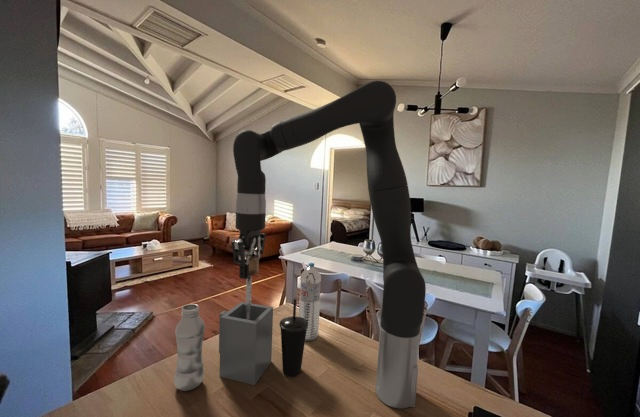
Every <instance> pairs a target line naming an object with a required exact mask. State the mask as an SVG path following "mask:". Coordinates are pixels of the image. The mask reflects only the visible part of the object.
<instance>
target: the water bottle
mask: <svg viewBox="0 0 640 417" xmlns="http://www.w3.org/2000/svg"><path fill="white" fill-rule="evenodd" d="M299 278H300V279H299V280H300V286H299V287H300V289H299V302H298V304H299V305H298V317H302V318H304V319H306V320H307V321H308V327H307V330H306V337H305V342H312V341H316V340H317V339H318V337H319V327H320V326H319V325H320V308H321V282H322V275H321V273H320V272H319V270H318V269H316V268H315V263H314V262H309V263H308V267H307V268H305V269H304V270H303V271H302V273H301V274H300V276H299Z"/></svg>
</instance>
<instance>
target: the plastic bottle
mask: <svg viewBox="0 0 640 417" xmlns="http://www.w3.org/2000/svg"><path fill="white" fill-rule="evenodd" d="M180 313H181V317H182V318H181V319H180V320H179V321H178V323H177V324H176V327H175V331H174V334H175V335H174V336H175V340H176V350H177V351H176V352H177V360H176V367H175V371H174V378H173V381H174V385H175V387H176V389H178V390H179V391H181V392H182V391H183V392H187V391H192V390H194V389H196V388H198V387H199V386H200V385H201V383H202V382H203V380H204V376H205V368H204V364H203V342H204V336H205V331H206V330H205V329H206V324H205V321H204V320H203V319H202V318H201V317H200V306H199V305H198V304H196V303H190V304H185V305H183V306H181V312H180Z"/></svg>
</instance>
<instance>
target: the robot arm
mask: <svg viewBox="0 0 640 417" xmlns="http://www.w3.org/2000/svg"><path fill="white" fill-rule="evenodd" d="M396 104H397V96H396V92H395V89H394V88H393V86H392V85H390V84H389V83H388V82H386V81H384V80H372V81H369V82H366V83H365V84H363V85H361V86H359V87H357V88H355V89H354V90H352V91H350V92H348V93H347V94H345V95H343V96H340V97H339V98H337V99H335V100H333V101H331V102H328V103H327V104H324V105H322V106H321V105H320V106H319V107H317V108H314V109H312V110H310V111H307V112H304V113H301V114H298V115H295V116H292V117H289V118H287V119H283V120H281V121H278V122H276V123H274V124H272V126H271V127H270V129H268V130H266V131H263V132H261V133H258V132H256V131H254V130H251V129H243V130H241V131H240V132H238V133H237V134H236V136H235V138H234V141H233V144H232V145H233V146H232V147H233V148H232V152H233V159H234V166H235V170H236V174H237V187H236V188H237V189H236V192H237V193H236V199H235V229H236V230H238V231H239V236H238V239H237V240H232V242H231V250H232V258H233V263H234V264H238V265H239V272H238V273H239V278H240V279H242V280H243V279H244V280H246V279H247V278H248V276H249V259H250V256H251V255H254V256H258V257H259V259H261V256H263V255H264V251H265V244H266V243H265V241H266V237H267V236H266V235H267V234H266V233H264V232H261V231H264V230H265V228H266V215H267V214H266V212H267V211H266V210H267V209H266V208H267V200H266V186H267V185H266V182H267V179H266V174H265V172H264V171H263V170H262V165H261V164H262V162H263V161H265V160H268V159H271V158H273V157H275V156H277V155H278V154H281V153H282V152H284V151H289V150H292V149H295V148H298V147H301V146H305V145H307V144H309V143H313V142H315V141H317V140H318V139H321V138H323V136H326V135H327V134H329V133H332V132H333V131H336V130H340V129H341V128H344V127H347V126H352V125H356V124H359V128H360V131H361V134H362V138H363V143H364V146H365V154H366V180H367V182H366V183H367V190H368V196H369V202H370V208H371V211H372V216H373V219H374V224H375V226H376V230H377V232H378V235H379V239H380V243H381V244H380V245H381V250H382V252H381V254H382V266H383V267H382V268H383V274H382V275H383V276H382V277H383V278H382V280H383V292H382V304H381V314H380V323H379V324H380V326H379V338H378V339H379V340H378V352H377V353H378V354H377V364H376V365H377V367H376V380H375V393H376V396H377V398H378V399H379V400H380V401H381V402H382V403H383V404H385V405H387V406H389V407H391V408H394V409H406V408H416V400H417V399H416V397H417V387H418V376H419V367H418V359H419V357H418V356H419V347H420V346H419V345H420V333H421V332H420V331H421V326H422V324H423V320H424V314H425V313H424V312H425V311H424V310H425V303H426V291H427V290H426V289H427V288H426V286H427V285H426V282H425V278H424V276H423V274H422V272H421V270H420V268H419V266H418V263H417V259H416V256H415V253H414V248H413V244H412V238H411V237H412V234H411V233H412V232H411V230H412V227H411V226H412V207H411V206H412V205H411V197H410V191H409V190H410V189H409V184H408V183H409V182H408V180H407V176H406V173H405V169H404V165H403V162H402V160H401V156H400V154H399V152H398V148H397V144H396V137H395V124H394V123H395V122H394V121H395V120H394V113H395V110H396ZM261 161H262V162H261ZM245 256H246V259H245Z"/></svg>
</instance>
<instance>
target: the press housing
mask: <svg viewBox="0 0 640 417" xmlns="http://www.w3.org/2000/svg"><path fill="white" fill-rule="evenodd" d="M245 309H246V301H240V302H239V303H238V304H236V305H235V306H233V307H232V308H231V309H229V310H222V311H221V312H220V313H219V320H218V322H219V324H218V325H219V326H218V327H219V328H218V336H219V337H218V354H219V377H221V378H225V379H227V380H232V381H237V382H239V383H240V382H241V383H244V384H247V385H251V386H252V385H253V386H255V385H256V384H257V382H258V381H259V379H260V378H261V376H262V375H263V374H264V373H265V371H266V369H267V368H268V366H269V365H270V364H271V363H272V356H273V355H272V349H273V348H272V347H273V326H274V325H273V324H274V320H273V319H274V307H273V306H268V305H264V304H262V305H261V304H257V303H251V320H246V319H245Z"/></svg>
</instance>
